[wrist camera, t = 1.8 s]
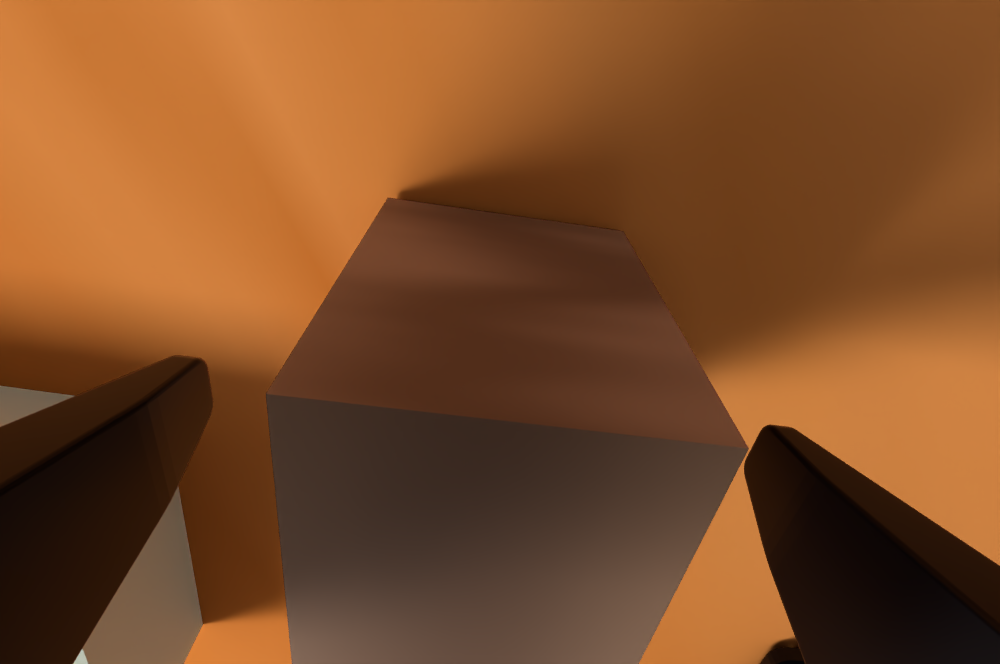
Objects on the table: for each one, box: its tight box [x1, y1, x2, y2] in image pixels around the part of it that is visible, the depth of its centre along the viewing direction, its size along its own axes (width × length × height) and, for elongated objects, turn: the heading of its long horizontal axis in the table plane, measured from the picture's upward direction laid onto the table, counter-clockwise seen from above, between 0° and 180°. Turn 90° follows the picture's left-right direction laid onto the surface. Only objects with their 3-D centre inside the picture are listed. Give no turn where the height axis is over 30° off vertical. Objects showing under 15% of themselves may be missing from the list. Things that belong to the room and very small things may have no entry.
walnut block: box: [266, 198, 749, 664], centre depth 9 cm, size 4×4×6 cm
